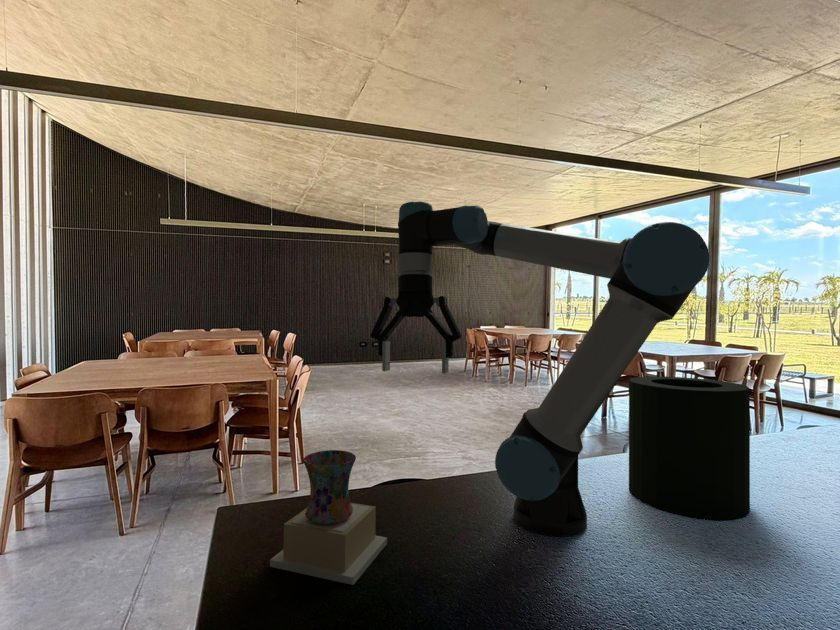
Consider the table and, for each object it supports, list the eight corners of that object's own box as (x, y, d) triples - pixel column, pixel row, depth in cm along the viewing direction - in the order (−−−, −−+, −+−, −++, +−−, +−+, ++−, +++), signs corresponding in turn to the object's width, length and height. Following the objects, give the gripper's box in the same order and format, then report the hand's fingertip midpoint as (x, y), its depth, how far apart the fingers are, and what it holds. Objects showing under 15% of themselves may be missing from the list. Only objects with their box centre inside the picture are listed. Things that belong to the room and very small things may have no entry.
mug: (357, 526, 76) (357, 464, 76) (301, 531, 74) (302, 467, 74) (352, 498, 88) (353, 444, 88) (304, 502, 86) (304, 447, 86)
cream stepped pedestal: (387, 543, 85) (387, 505, 85) (353, 585, 71) (353, 539, 72) (314, 530, 90) (314, 494, 90) (270, 566, 77) (270, 523, 77)
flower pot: (632, 509, 101) (632, 386, 102) (626, 474, 125) (626, 374, 125) (766, 529, 92) (766, 394, 92) (732, 487, 115) (732, 379, 115)
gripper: (474, 274, 97) (474, 371, 97) (370, 277, 104) (369, 368, 104) (467, 270, 90) (467, 375, 89) (356, 274, 97) (355, 371, 97)
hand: (415, 371), depth 97 cm, fingers open, 13 cm apart
